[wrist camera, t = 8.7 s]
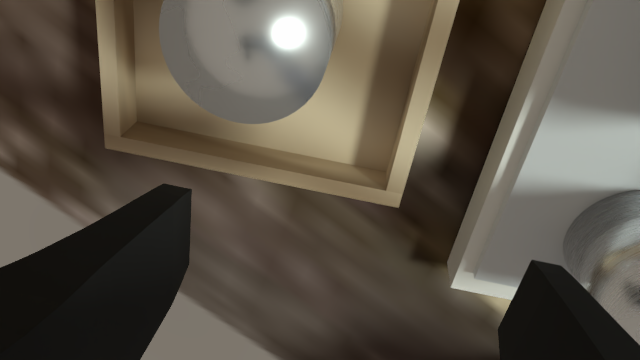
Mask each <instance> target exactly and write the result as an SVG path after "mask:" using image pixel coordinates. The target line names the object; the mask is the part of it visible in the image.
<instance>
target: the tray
mask: <svg viewBox="0 0 640 360" xmlns="http://www.w3.org/2000/svg"><path fill="white" fill-rule="evenodd" d="M163 1H164V0H95V5H96V19H97V34H98V49H99V64H100V79H101V94H102V109H103V124H104V139H105V148H107V149H112V150H116V151H121V152H126V153H131V154H136V155H141V156H146V157H151V158H156V159H161V160H166V161H171V162H176V163H180V164H185V165H190V166H195V167H200V168H205V169H210V170H215V171H220V172H225V173H230V174H235V175H239V176H244V177H249V178H254V179H259V180H264V181H269V182H274V183H279V184H284V185H289V186H294V187H298V188H303V189H308V190H313V191H318V192H323V193H328V194H333V195H338V196H343V197H348V198H353V199H358V200H362V201H367V202H372V203H377V204H382V205H387V206H392V207H397V208H399V205H400V201H401V198H402V195H403V191H404V188H405V184H406V181H407V178H408V174H409V171H410V167H411V164H412V161H413V157H414V154H415V150H416V147H417V144H418V140H419V137H420V133H421V130H422V127H423V123H424V120H425V116H426V113H427V110H428V106H429V103H430V99H431V96H432V93H433V89H434V86H435V82H436V79H437V76H438V72H439V69H440V65H441V62H442V59H443V55H444V52H445V48H446V45H447V42H448V38H449V35H450V31H451V28H452V25H453V21H454V18H455V14H456V11H457V8H458V4H459V1H460V0H343V18H342V23H341V27H340V30H339V33H338V36H337V39H336V42H335V45H334V48H333V50H332V53H331V56H330V59H329V62H328V65H327V68H326V71H325V73H324V76H323V79H322V81H321V83H320V85H319V87H318V89H317V90H316V92H315V93H314V94H313V96H312V97H311V98H310V99H309V100H308V101H307V103H306V104H305V105H303V106H302V107H301V108H300V109H298V110H297V111H296V112H294V113H292V114H291V115H289V116H287V117H285V118H282V119H280V120H277V121H273V122H270V123H263V124H243V123H237V122H232V121H228V120H226V119H223V118H220V117H218V116H216V115H214V114H212V113H210V112H208V111H206V110H205V109H203V108H202V107H200V106H199V105H198V104H196V103H195V102H194V101H193V100H191V99H190V98H189V97H188V96H187V95H186V94H185V92H184V91H183V90H182V89H181V88H180V86H179V85H178V84H177V82H176V81H175V79H174V78H173V76H172V75H171V73H170V71H169V69H168V66H167V64H166V62H165V59H164V56H163V53H162V49H161V44H160V37H159V18H160V12H161V7H162V4H163Z"/></svg>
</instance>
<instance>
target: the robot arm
mask: <svg viewBox="0 0 640 360" xmlns="http://www.w3.org/2000/svg"><path fill="white" fill-rule="evenodd" d="M191 193H192V189H187V188H183V187H178V186H173V185H168V184H162V185H160V186H158V187H156V188H154V189H153V190H151V191H149V192H147V193H146V194H144V195H142V196H140V197H139V198H137V199H135V200H133V201H132V202H130V203H128V204H127V205H125V206H123V207H121V208H120V209H118V210H116V211H114V212H113V213H111V214H109V215H107V216H105V217H104V218H102V219H100V220H98V221H96V222H95V223H93V224H91V225H89V226H87V227H86V228H84V229H82V230H80V231H78V232H76V233H74V234H72V235H70V236H68V237H66V238H64V239H62V240H60V241H58V242H56V243H54V244H52V245H50V246H48V247H46V248H44V249H42V250H40V251H38V252H35V253H33V254H31V255H29V256H27V257H24V258H22V259H20V260H18V261H15V262H13V263H11V264H8V265H6V266H3V267H1V268H0V360H140V359H141V357H142V355H143V354H144V352H145V350H146V349H147V347H148V345H149V343H150V342H151V340H152V338H153V337H154V335H155V333H156V331H157V330H158V328H159V326H160V325H161V323H162V321H163V319H164V318H165V316H166V314H167V312H168V311H169V309H170V307H171V305H172V303H173V301H174V299H175V296H176V294H177V292H178V290H179V287H180V285H181V282H182V280H183V278H184V275H185V273H186V270H187V268H188V265H189V251H190V222H191ZM498 336H499V349H500V360H640V345H639V344H638V343H637V342H636V341H635V340H634V339H633V338H632V337H631V336H630V335H629V334H628V333H627V332H626V331H625V330H624V329H623V328H622V327H621V326H620V324H619V323H618V322H617V321H616V320H615V319H614V318H613V317H612V316H611V315H610V314H609V313H608V312H607V311H606V310H605V309H604V308H603V307H602V306H601V305H600V304H599V303H598V302H597V301H596V300H595V298H594V297H593V296H592V295H591V294H590V293H589V292H588V291H587V290H586V289H585V288H584V287H583V286H582V285H581V284H580V283H579V282H578V281H577V280H576V279H575V278H574V277H573V276H572V275H571V274H570V273H569V272H568V271H567V270H565V269H564V268H563V267H562V266H561V265H556V264H551V263H546V262H541V261H536V260H531V262H530V264H529V266H528V268H527V270H526V272H525V274H524V276H523V278H522V280H521V282H520V285H519V287H518V289H517V291H516V293H515V295H514V297H513V299H512V301H511V303H510V305H509V307H508V309H507V311H506V314H505V316H504V318H503V320H502V322H501V324H500V326H499V328H498Z"/></svg>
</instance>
